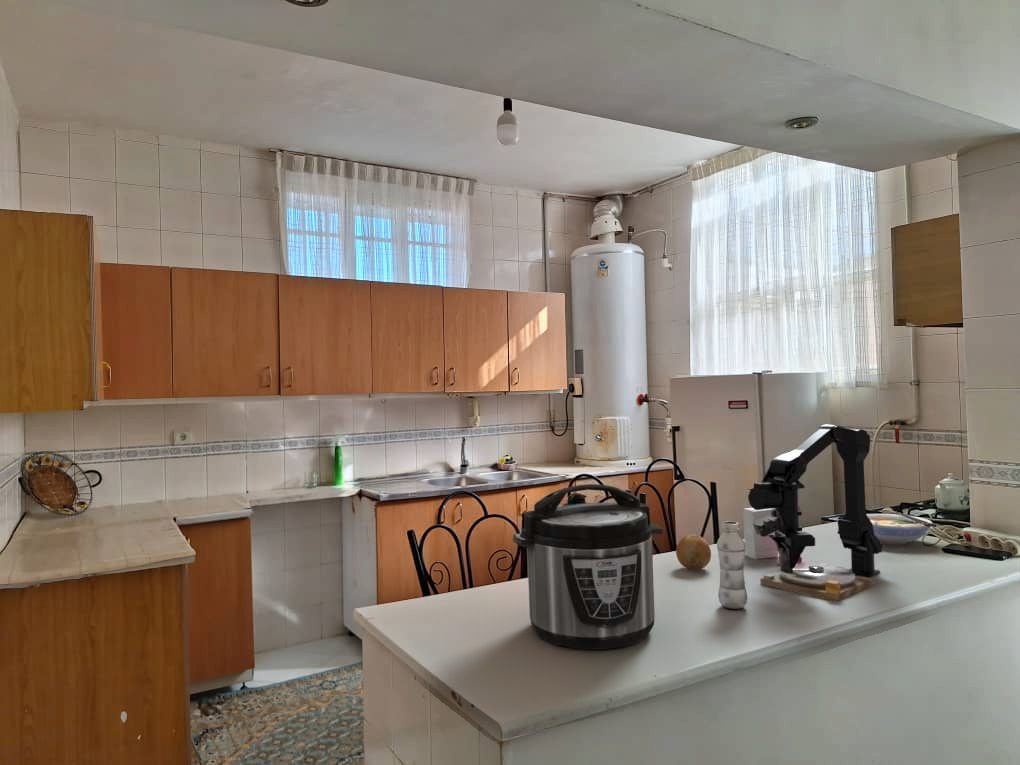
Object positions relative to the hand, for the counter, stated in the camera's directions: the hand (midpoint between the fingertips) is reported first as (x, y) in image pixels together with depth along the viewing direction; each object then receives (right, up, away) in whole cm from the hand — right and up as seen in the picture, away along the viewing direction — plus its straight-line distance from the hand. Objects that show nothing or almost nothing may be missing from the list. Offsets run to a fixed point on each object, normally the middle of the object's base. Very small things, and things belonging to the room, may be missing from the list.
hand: (788, 565), depth 179 cm
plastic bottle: (-20, -5, -17) cm, 27 cm away
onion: (-20, -6, +18) cm, 27 cm away
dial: (+7, -3, 0) cm, 8 cm away
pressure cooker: (-55, -6, -31) cm, 64 cm away
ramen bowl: (+53, -5, +45) cm, 70 cm away
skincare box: (+4, -6, +31) cm, 31 cm away
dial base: (+7, -5, 0) cm, 9 cm away
